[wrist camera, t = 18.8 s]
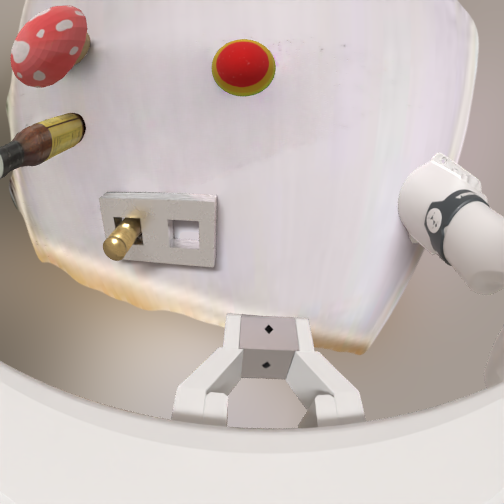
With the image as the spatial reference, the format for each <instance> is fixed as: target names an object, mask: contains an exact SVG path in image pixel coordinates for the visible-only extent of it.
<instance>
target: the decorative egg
mask: <svg viewBox="0 0 504 504" xmlns="http://www.w3.org/2000/svg"><path fill="white" fill-rule="evenodd" d="M275 70H276V66H275V60H274V58H273V56H272V54H271V52H270V51H269V50H268V49H267V48H266V47H265V46H264V45H262V44H260V43H258V42H256V41H253V40H247V39H240V40H235V41H231V42H229V43H227V44H225V45H224V46H223V47H221V48H220V49H219V50H218V52H217V53H216V55H215V56H214V59H213V62H212V75H213V77H214V80H215V82H216V83H217V84H218V86H219V87H220V88H221V89H223V90H224V91H226V92H227V93H229V94H232V95H236V96H251V95H255V94H257V93H259V92H261V91H263V90H264V89H266V88H267V87H268V86H269V84H270V83H271V82H272V80H273V78H274V75H275Z"/></svg>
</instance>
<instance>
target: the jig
mask: <svg viewBox="0 0 504 504" xmlns="http://www.w3.org/2000/svg"><path fill="white" fill-rule="evenodd" d="M99 201H100V208H101V214H102V220H103V226H104V231H105V236H106V239H107V238H108V237H109V236H110V234H111V233H112V232H113V231H114V230H115V229H116V227H117V226H118V225H119V224H120V223H121V222H122V217H127V218H140V221H141V229H142V236H138V238H137V239H136V240H135V242H134V243H133V245H132V246H131V248H130V249H129V250H128V252H127V253H126V255H125V256H124V258H123V259H124V260H134V261H145V262H156V263H167V264H179V265H190V266H202V267H214V264H215V259H216V214H217V195H206V194H186V193H156V192H106V193H105V194H104V195H103V196H101V197H100V198H99ZM173 220H186V221H199V240H188V239H174V232H173Z"/></svg>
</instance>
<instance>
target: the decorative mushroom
mask: <svg viewBox="0 0 504 504" xmlns="http://www.w3.org/2000/svg"><path fill="white" fill-rule="evenodd" d="M89 47H90V37H89V35H88V33H87V23H86V18H85V16H84V14H83V13H82V11H81V10H80V9H77V8H75V7H73V6H55V7H51V8H49V9H47V10H44V11H42V12H40V13H39V14H37V15H36V16H34V17H33V18H32V19H31V20H30V21H28V22H27V23H26V24H25V26H24V27H23V28H22V29H21V31H20V32H19V34H18V35H17V37H16V39H15V41H14V44H13V47H12V51H11V67H12V69H13V72H14V74H15V76H16V77H17V78H18V79H19V80H20V81H21V82H22V83H24V84H25V85H28V86H33V87H46V86H50V85H53V84H54V83H56V82H57V81H59V80H60V79H62V78H63V77H64V76H65V75H66V74H67V73H68V72H69V71H70V70H71V69H72V67H73V66H74V65H75V64H77V63H79V62H80V61H81V60H82V59H83V58H84V57H85V55H86V54H87V52H88V49H89Z"/></svg>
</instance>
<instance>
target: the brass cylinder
mask: <svg viewBox="0 0 504 504" xmlns="http://www.w3.org/2000/svg"><path fill="white" fill-rule="evenodd" d="M141 232H142V229H141V221H140V218H127V217H125V219H124V220H123V221H122V222H121V223H120V224H119V225H118V226H117V227H116V229H115V230H114V231H113V232H112V233H111V234H110V236H109V237H108V238H107V239H106V240H105V241H104V243H103V250H104V252H105V254H106V255H107V256H108V257H109V258H110V259H112V260H115V261H119V260H122V259H123V258H124V256H125V255H126V253H127V252H128V250H129V249H130V248H131V246H132V245H133V243H134V242H135V240H136V239H137V238H138V236H139V235H140V233H141Z"/></svg>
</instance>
